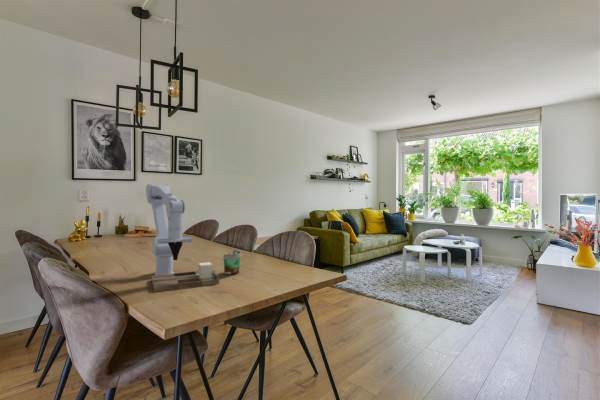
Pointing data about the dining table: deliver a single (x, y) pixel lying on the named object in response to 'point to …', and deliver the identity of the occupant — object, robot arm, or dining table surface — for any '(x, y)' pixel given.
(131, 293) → the dining table surface
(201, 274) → the block
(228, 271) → the food container
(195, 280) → the trap deck
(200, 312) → the dining table surface
